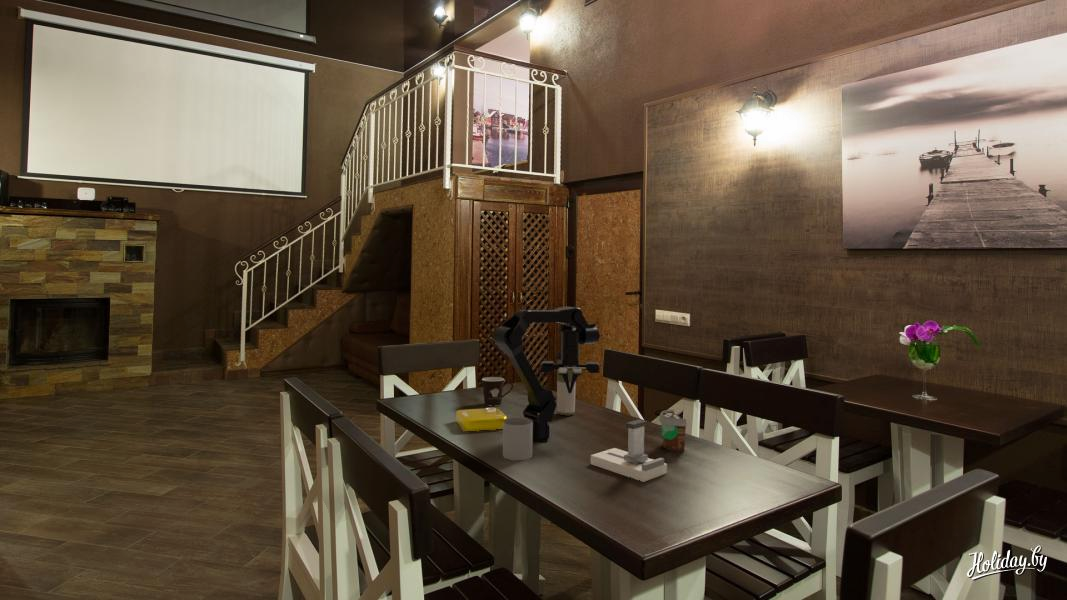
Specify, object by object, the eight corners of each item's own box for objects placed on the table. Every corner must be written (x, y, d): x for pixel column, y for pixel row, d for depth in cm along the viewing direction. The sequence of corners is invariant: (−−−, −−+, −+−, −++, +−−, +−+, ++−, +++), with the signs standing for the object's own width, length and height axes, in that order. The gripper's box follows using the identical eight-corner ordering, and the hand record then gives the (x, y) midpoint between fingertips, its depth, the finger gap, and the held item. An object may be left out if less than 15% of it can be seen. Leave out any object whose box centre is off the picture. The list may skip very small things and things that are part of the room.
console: (590, 464, 164) (590, 449, 163) (614, 456, 170) (614, 442, 170) (643, 481, 150) (643, 466, 150) (666, 473, 157) (667, 458, 157)
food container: (653, 441, 186) (654, 409, 185) (672, 440, 186) (673, 409, 186) (665, 453, 174) (666, 419, 173) (685, 453, 174) (686, 419, 174)
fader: (623, 460, 158) (623, 422, 157) (636, 456, 162) (637, 418, 161) (635, 464, 155) (635, 425, 154) (648, 459, 159) (649, 421, 158)
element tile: (455, 422, 208) (455, 408, 208) (497, 419, 213) (497, 405, 212) (463, 433, 194) (463, 419, 193) (508, 430, 198) (508, 416, 198)
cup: (510, 462, 165) (510, 426, 164) (498, 453, 172) (498, 419, 171) (537, 457, 169) (537, 423, 168) (524, 449, 176) (524, 416, 175)
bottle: (563, 411, 223) (564, 331, 222) (579, 413, 219) (580, 332, 218) (552, 414, 218) (553, 333, 216) (568, 417, 214) (569, 334, 212)
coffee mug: (479, 406, 229) (479, 380, 229) (484, 401, 238) (485, 376, 237) (508, 407, 228) (509, 382, 227) (513, 402, 236) (513, 377, 235)
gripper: (597, 342, 200) (597, 388, 201) (542, 341, 201) (542, 387, 202) (599, 347, 189) (599, 395, 190) (541, 346, 190) (540, 394, 191)
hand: (569, 393), depth 194 cm, fingers closed
